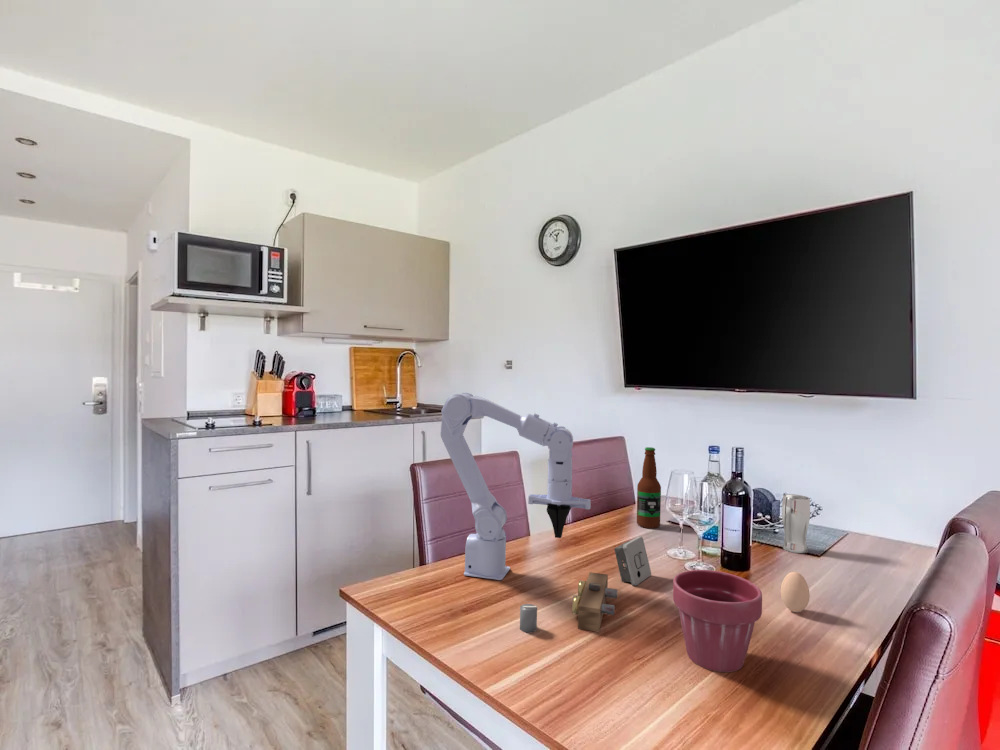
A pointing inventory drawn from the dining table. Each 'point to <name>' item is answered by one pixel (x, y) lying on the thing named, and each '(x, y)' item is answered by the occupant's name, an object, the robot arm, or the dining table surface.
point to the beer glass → (795, 522)
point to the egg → (795, 592)
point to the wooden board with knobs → (592, 602)
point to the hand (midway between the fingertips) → (558, 536)
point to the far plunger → (608, 592)
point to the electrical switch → (633, 561)
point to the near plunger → (604, 607)
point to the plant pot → (716, 617)
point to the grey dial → (528, 618)
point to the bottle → (649, 493)
